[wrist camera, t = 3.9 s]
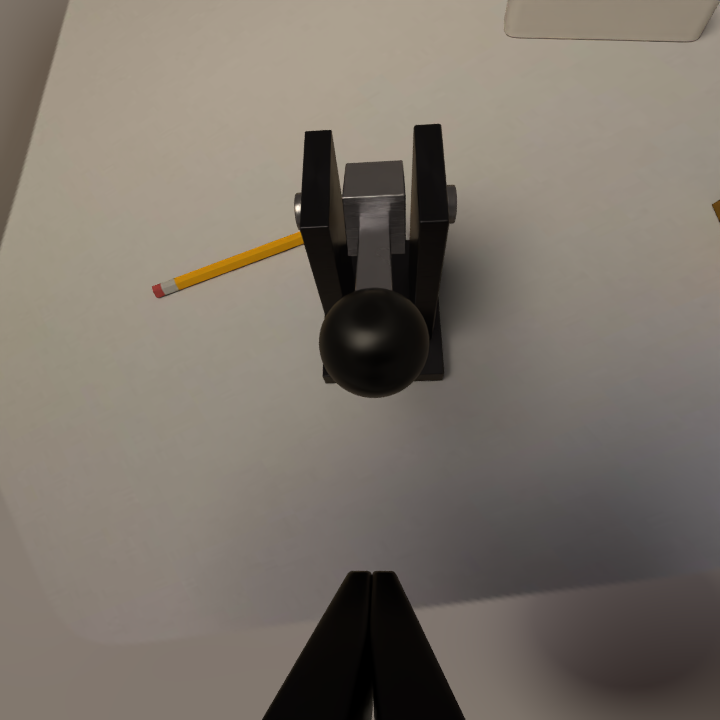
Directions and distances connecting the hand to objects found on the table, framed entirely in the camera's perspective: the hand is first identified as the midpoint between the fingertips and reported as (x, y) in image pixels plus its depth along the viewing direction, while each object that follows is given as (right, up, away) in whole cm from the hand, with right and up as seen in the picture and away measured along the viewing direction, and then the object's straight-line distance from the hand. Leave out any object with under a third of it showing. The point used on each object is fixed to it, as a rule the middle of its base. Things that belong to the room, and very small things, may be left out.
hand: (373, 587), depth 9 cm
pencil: (-6, +10, +20) cm, 23 cm away
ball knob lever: (0, +6, +8) cm, 10 cm away
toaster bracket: (+1, +7, +17) cm, 19 cm away
